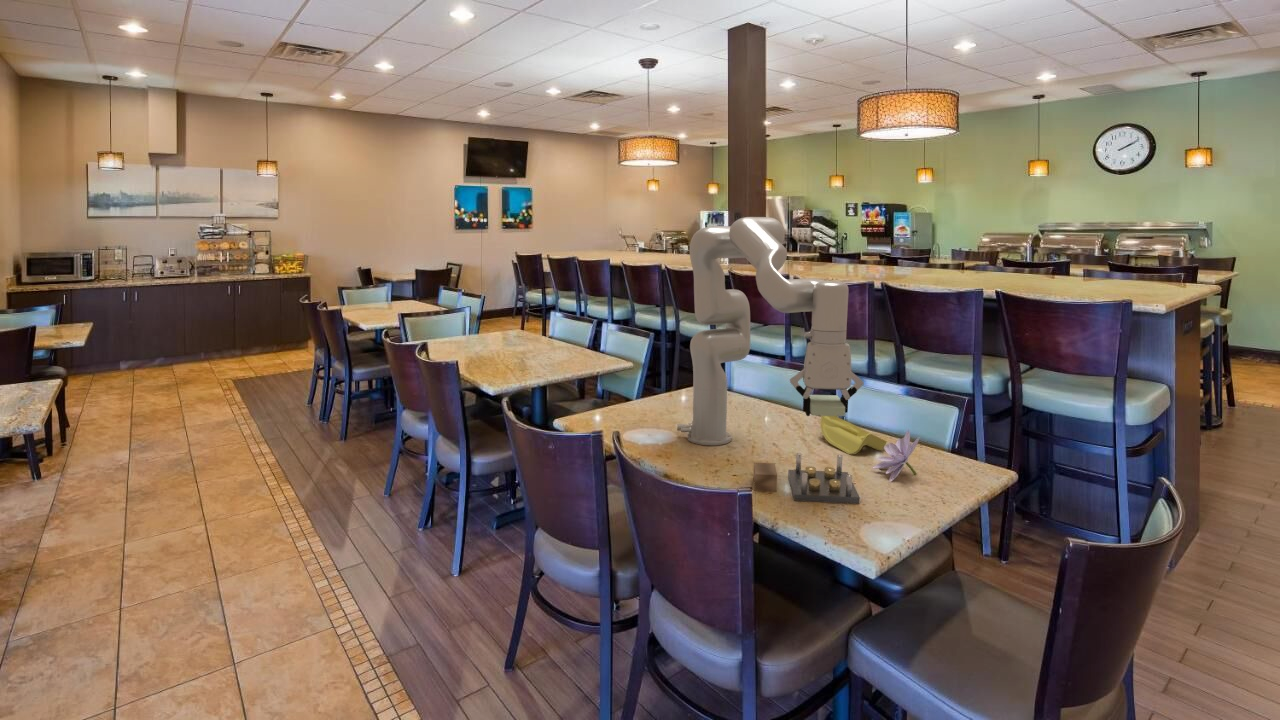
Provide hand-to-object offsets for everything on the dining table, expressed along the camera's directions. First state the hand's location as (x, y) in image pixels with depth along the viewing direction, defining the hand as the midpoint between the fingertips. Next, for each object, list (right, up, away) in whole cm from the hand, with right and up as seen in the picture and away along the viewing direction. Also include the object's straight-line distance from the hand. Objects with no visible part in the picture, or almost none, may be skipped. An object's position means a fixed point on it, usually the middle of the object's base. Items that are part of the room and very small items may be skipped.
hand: (824, 414), depth 155 cm
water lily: (+21, -16, +13) cm, 29 cm away
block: (-13, -17, +6) cm, 22 cm away
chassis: (0, -17, +3) cm, 18 cm away
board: (0, +1, 0) cm, 1 cm away
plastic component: (+17, -11, +37) cm, 42 cm away
